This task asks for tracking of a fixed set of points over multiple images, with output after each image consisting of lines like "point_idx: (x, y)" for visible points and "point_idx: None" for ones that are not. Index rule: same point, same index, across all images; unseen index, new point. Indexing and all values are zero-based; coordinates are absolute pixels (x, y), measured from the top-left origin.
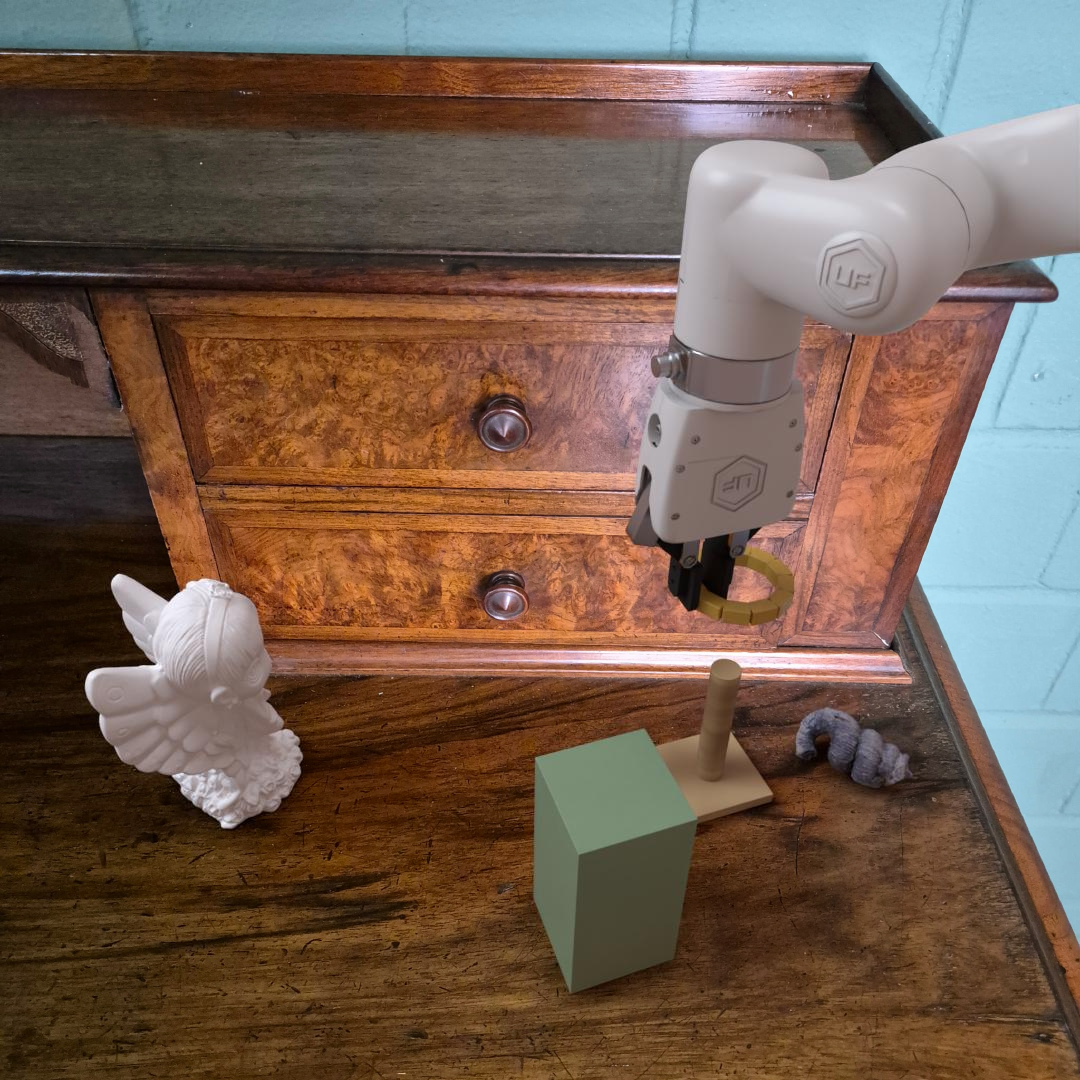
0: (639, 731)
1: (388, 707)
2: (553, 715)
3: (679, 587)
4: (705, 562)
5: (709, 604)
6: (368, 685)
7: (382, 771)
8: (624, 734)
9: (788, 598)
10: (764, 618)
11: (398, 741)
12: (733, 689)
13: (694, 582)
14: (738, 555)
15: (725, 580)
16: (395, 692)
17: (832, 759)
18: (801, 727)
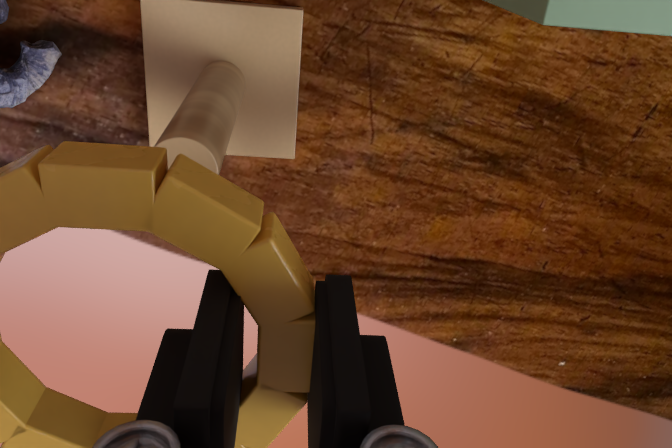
0: (561, 19)
1: (565, 341)
2: (381, 263)
3: (385, 361)
4: (232, 434)
5: (293, 270)
6: (568, 378)
7: (625, 256)
8: (598, 27)
9: None
10: (109, 152)
11: (583, 291)
12: (182, 126)
13: (361, 359)
14: (132, 430)
15: (213, 337)
16: (545, 359)
17: (3, 1)
18: (28, 91)
